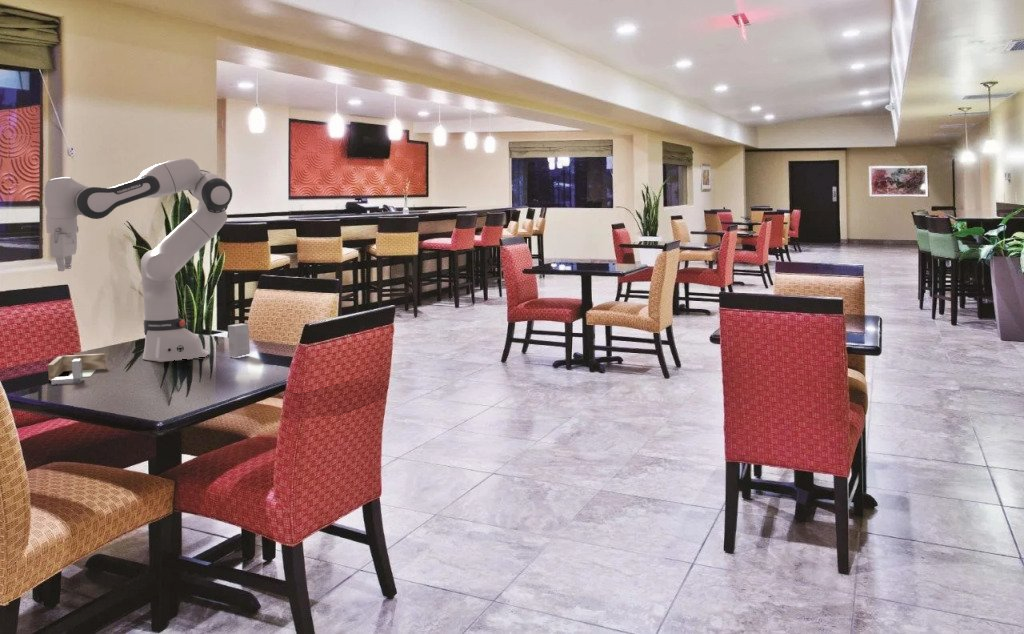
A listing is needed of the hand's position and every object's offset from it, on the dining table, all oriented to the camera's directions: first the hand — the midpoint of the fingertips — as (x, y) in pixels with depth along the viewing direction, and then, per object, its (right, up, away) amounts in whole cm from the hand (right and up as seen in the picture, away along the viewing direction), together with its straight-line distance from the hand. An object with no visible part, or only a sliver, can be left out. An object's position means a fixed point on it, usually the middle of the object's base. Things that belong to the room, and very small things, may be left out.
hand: (64, 270), depth 261 cm
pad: (+6, -34, -1) cm, 35 cm away
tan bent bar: (+5, -34, -1) cm, 35 cm away
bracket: (+8, -36, -12) cm, 39 cm away
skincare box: (+47, -30, +29) cm, 63 cm away
